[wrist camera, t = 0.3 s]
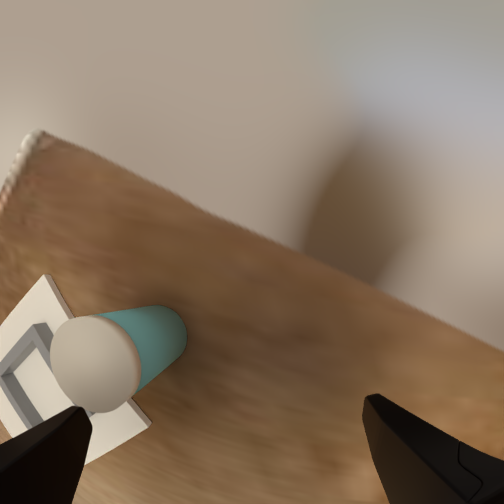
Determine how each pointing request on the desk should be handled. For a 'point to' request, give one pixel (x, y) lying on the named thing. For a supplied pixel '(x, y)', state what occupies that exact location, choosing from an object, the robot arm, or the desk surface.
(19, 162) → the desk surface
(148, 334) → the teal cylinder white cap
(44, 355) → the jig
